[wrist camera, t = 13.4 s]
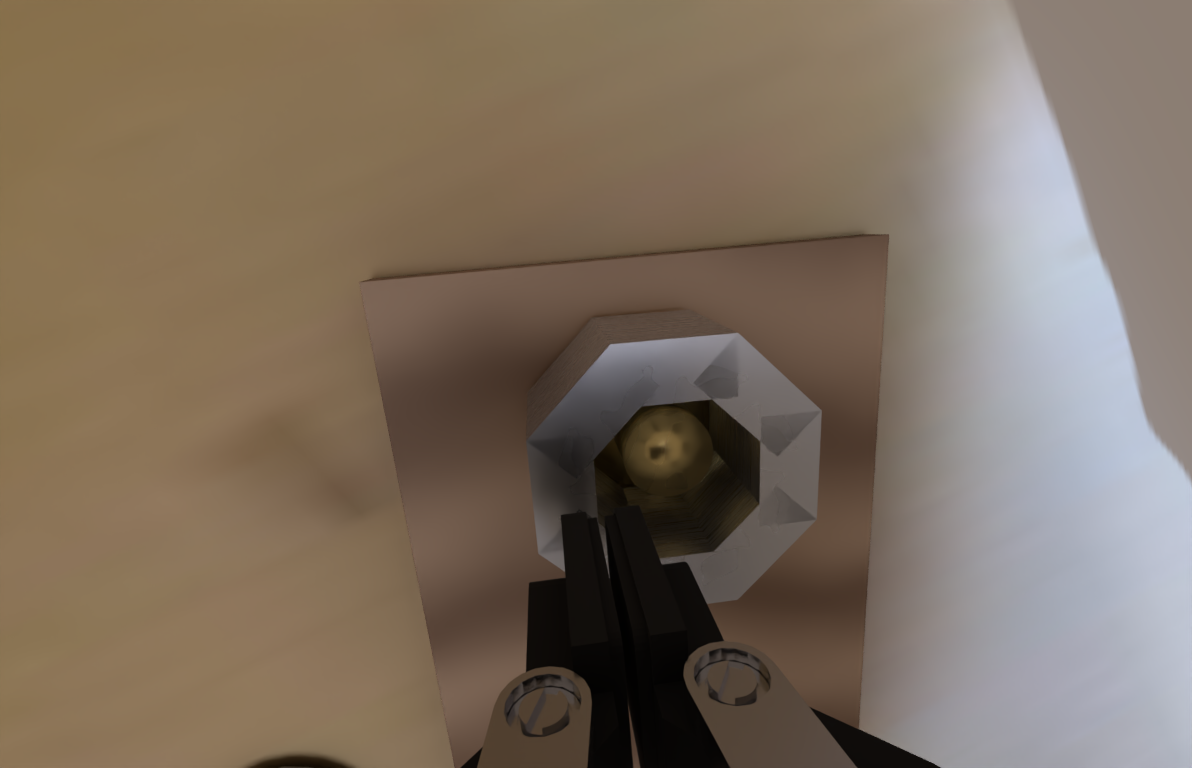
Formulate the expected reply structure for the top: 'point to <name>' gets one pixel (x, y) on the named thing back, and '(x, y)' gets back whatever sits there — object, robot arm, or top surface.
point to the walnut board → (500, 462)
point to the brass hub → (660, 449)
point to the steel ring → (736, 426)
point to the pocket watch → (295, 767)
